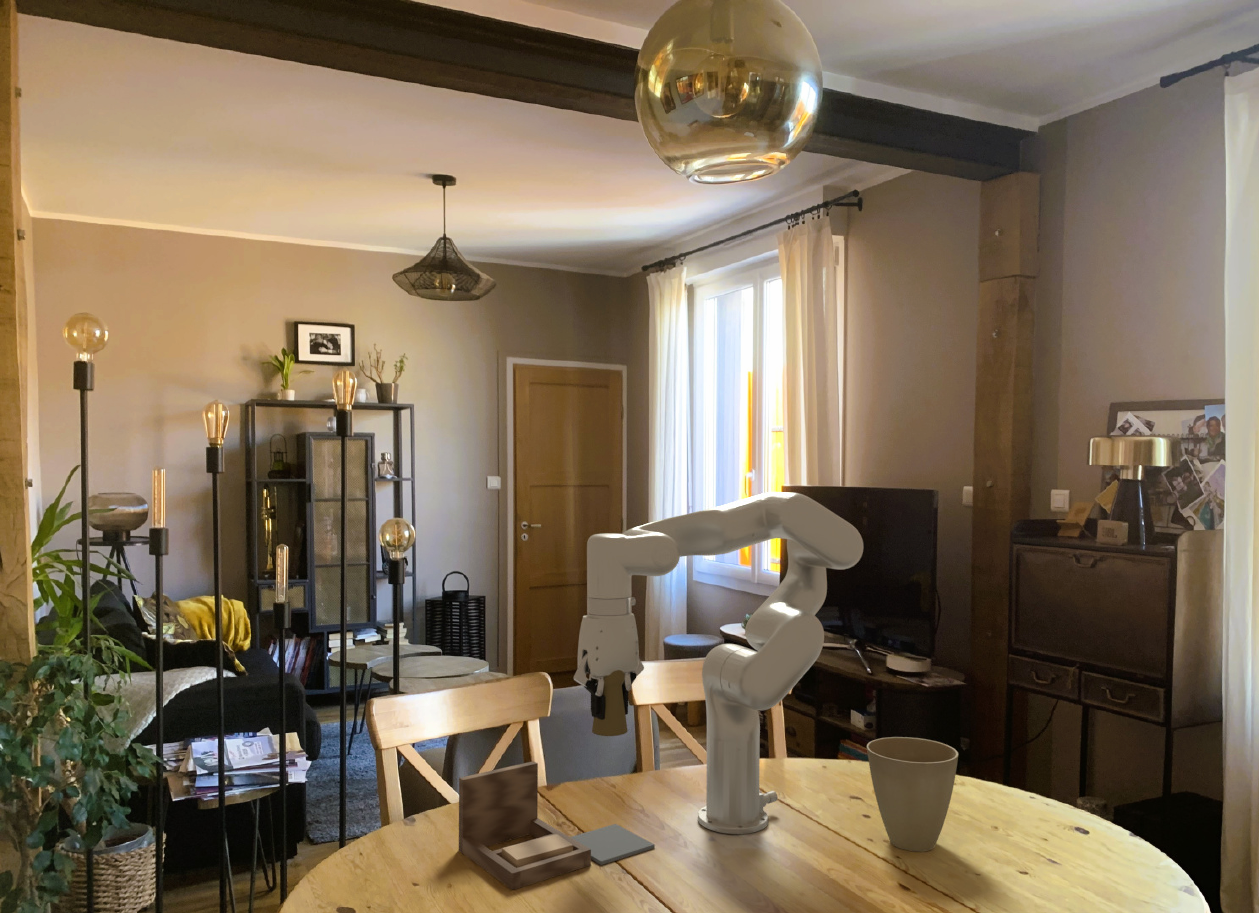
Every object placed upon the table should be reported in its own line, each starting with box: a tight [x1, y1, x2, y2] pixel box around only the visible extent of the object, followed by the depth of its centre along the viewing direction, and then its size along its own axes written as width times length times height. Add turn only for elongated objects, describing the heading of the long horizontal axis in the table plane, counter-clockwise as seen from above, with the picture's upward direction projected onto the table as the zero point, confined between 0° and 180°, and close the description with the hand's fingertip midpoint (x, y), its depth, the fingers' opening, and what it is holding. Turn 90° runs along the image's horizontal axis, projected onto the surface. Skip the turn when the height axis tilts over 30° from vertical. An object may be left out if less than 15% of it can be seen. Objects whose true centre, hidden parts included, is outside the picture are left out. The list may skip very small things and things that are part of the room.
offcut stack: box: [501, 834, 573, 868], centre depth 145 cm, size 10×5×4 cm, turn 124°
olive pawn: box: [591, 670, 629, 737], centre depth 154 cm, size 6×6×11 cm
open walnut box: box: [458, 760, 592, 891], centre depth 148 cm, size 14×18×12 cm
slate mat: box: [570, 823, 656, 866], centre depth 153 cm, size 11×11×1 cm
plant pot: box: [866, 736, 959, 853], centre depth 155 cm, size 15×15×16 cm
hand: (609, 714), depth 154 cm, fingers closed on olive pawn, 4 cm apart
